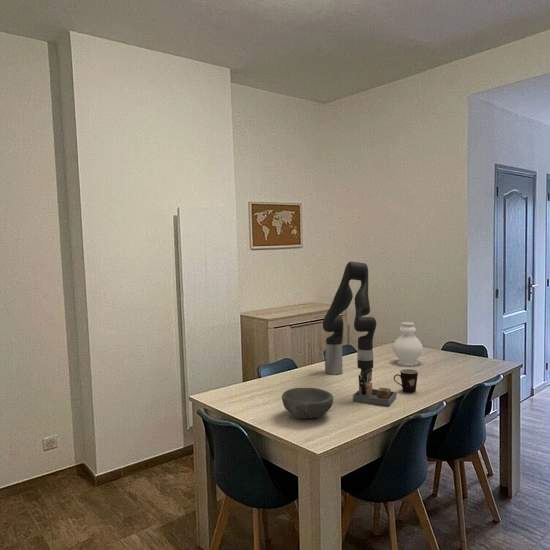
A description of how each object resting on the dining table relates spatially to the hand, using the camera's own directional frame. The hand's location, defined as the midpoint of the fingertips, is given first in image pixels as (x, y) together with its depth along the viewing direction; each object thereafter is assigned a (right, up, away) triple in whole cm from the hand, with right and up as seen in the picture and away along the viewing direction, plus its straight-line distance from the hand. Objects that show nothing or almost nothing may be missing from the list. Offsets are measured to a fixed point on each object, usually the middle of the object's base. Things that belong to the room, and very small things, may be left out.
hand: (365, 392), depth 234 cm
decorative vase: (+38, +2, +64) cm, 74 cm away
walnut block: (+8, -2, -4) cm, 9 cm away
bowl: (-29, -5, -21) cm, 37 cm away
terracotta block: (0, -1, 0) cm, 1 cm away
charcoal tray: (+4, -3, -2) cm, 5 cm away
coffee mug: (+22, -2, +11) cm, 25 cm away
